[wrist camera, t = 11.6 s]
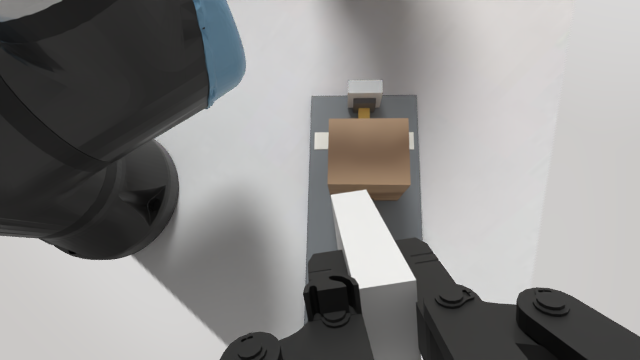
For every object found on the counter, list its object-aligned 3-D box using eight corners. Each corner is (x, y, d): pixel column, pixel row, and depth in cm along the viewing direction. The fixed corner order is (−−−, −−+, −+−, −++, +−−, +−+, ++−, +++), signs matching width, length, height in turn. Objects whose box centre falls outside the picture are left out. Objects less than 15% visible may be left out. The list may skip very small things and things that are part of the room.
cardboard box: (397, 200, 37) (410, 184, 30) (331, 199, 38) (327, 184, 30) (395, 146, 39) (408, 118, 31) (332, 146, 39) (328, 118, 32)
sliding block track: (424, 339, 35) (435, 349, 31) (304, 334, 36) (299, 343, 32) (415, 98, 41) (423, 79, 37) (312, 99, 42) (308, 80, 38)
